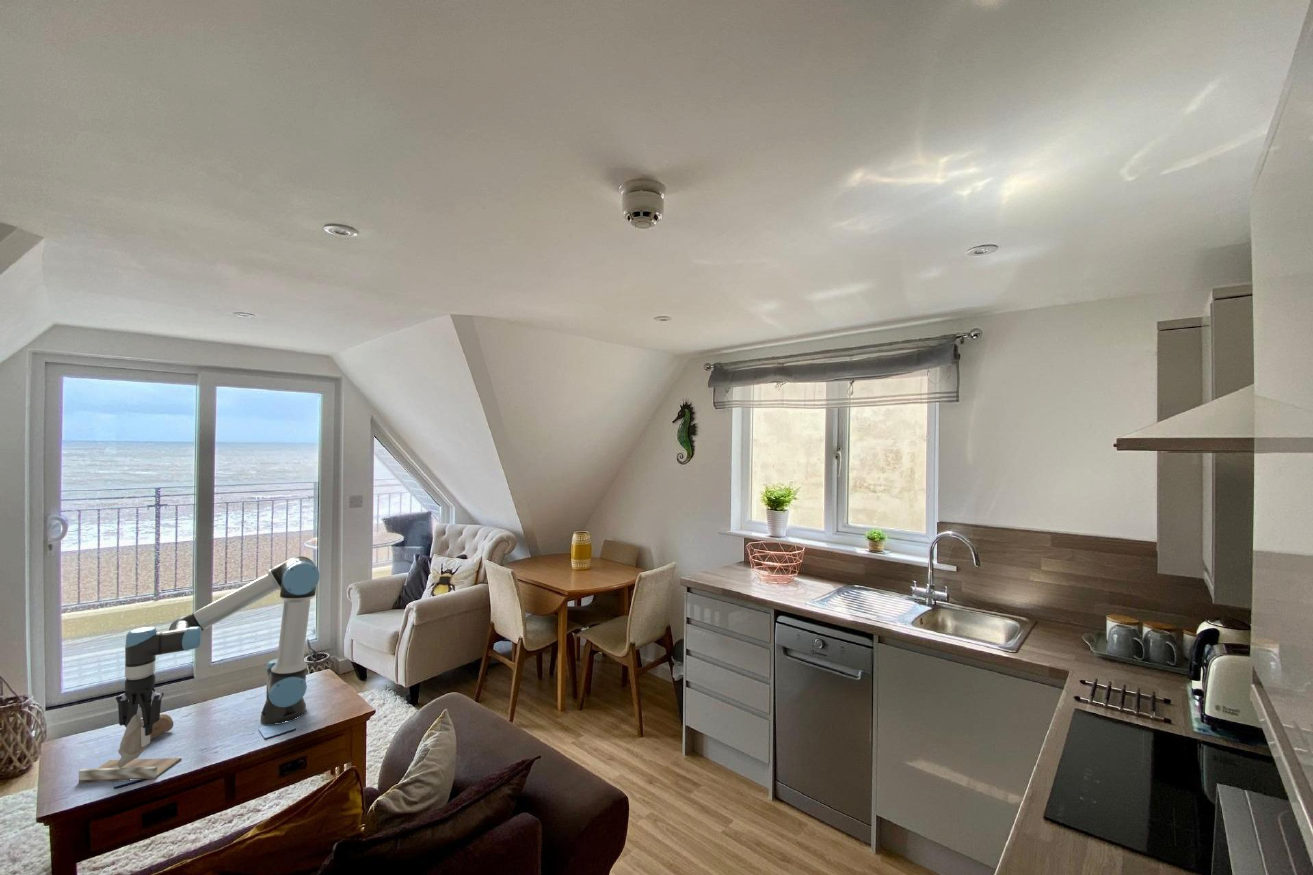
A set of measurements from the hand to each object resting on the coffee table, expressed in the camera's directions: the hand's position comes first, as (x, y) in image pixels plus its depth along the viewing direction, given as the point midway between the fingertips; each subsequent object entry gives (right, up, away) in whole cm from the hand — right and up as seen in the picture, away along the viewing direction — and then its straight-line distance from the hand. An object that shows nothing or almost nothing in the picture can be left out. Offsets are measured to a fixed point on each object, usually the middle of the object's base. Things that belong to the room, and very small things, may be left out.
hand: (139, 744), depth 184 cm
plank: (-1, -9, -1) cm, 9 cm away
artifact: (0, -5, -2) cm, 5 cm away
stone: (-18, -9, +20) cm, 28 cm away
